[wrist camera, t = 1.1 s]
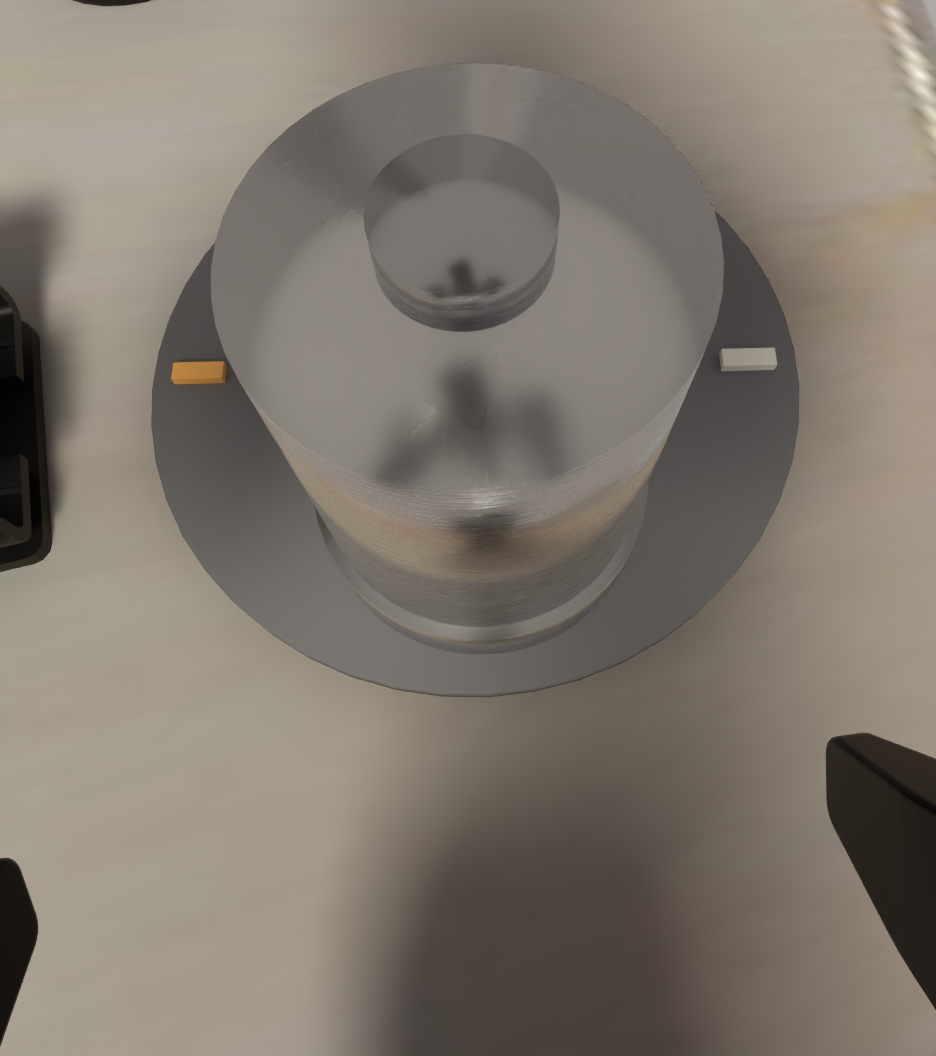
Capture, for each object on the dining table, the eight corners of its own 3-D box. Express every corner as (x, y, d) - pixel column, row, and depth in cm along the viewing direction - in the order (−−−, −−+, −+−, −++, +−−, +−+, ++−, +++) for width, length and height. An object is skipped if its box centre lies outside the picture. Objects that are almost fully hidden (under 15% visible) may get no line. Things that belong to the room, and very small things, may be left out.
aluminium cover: (695, 569, 23) (885, 322, 11) (402, 710, 22) (292, 591, 10) (548, 324, 26) (583, -67, 14) (283, 438, 25) (97, 115, 13)
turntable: (923, 515, 24) (942, 501, 23) (292, 823, 22) (281, 824, 20) (598, 67, 30) (602, 40, 29) (87, 268, 28) (72, 247, 27)
